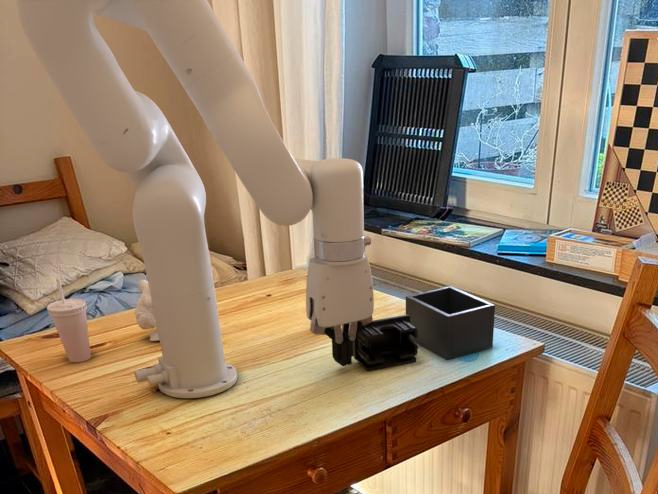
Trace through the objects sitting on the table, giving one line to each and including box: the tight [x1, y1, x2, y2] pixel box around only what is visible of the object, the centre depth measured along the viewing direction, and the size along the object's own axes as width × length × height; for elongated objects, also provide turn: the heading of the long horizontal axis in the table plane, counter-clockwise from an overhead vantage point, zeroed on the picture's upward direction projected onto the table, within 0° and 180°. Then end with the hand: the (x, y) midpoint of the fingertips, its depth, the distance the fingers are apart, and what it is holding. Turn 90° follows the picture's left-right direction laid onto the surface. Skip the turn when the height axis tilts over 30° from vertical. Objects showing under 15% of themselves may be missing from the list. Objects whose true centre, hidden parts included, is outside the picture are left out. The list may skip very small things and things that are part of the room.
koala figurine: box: [134, 279, 160, 342], centre depth 135 cm, size 8×7×12 cm
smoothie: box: [46, 277, 92, 363], centre depth 128 cm, size 6×6×14 cm
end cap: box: [353, 314, 419, 373], centre depth 124 cm, size 10×7×7 cm
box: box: [405, 285, 496, 361], centre depth 129 cm, size 10×13×8 cm
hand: (343, 362), depth 122 cm, fingers closed
